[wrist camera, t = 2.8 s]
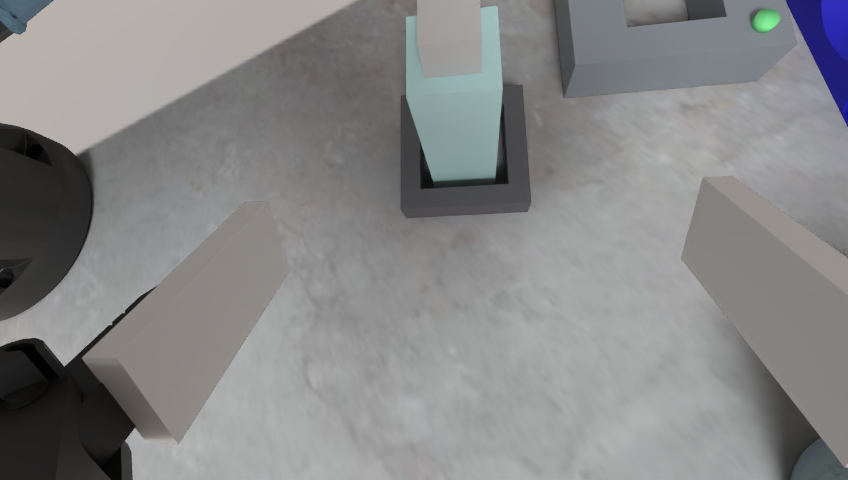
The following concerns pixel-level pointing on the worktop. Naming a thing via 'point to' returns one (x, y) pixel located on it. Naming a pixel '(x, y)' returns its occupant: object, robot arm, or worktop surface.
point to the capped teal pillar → (455, 89)
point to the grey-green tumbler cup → (818, 464)
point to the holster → (469, 197)
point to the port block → (669, 45)
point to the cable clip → (827, 42)
